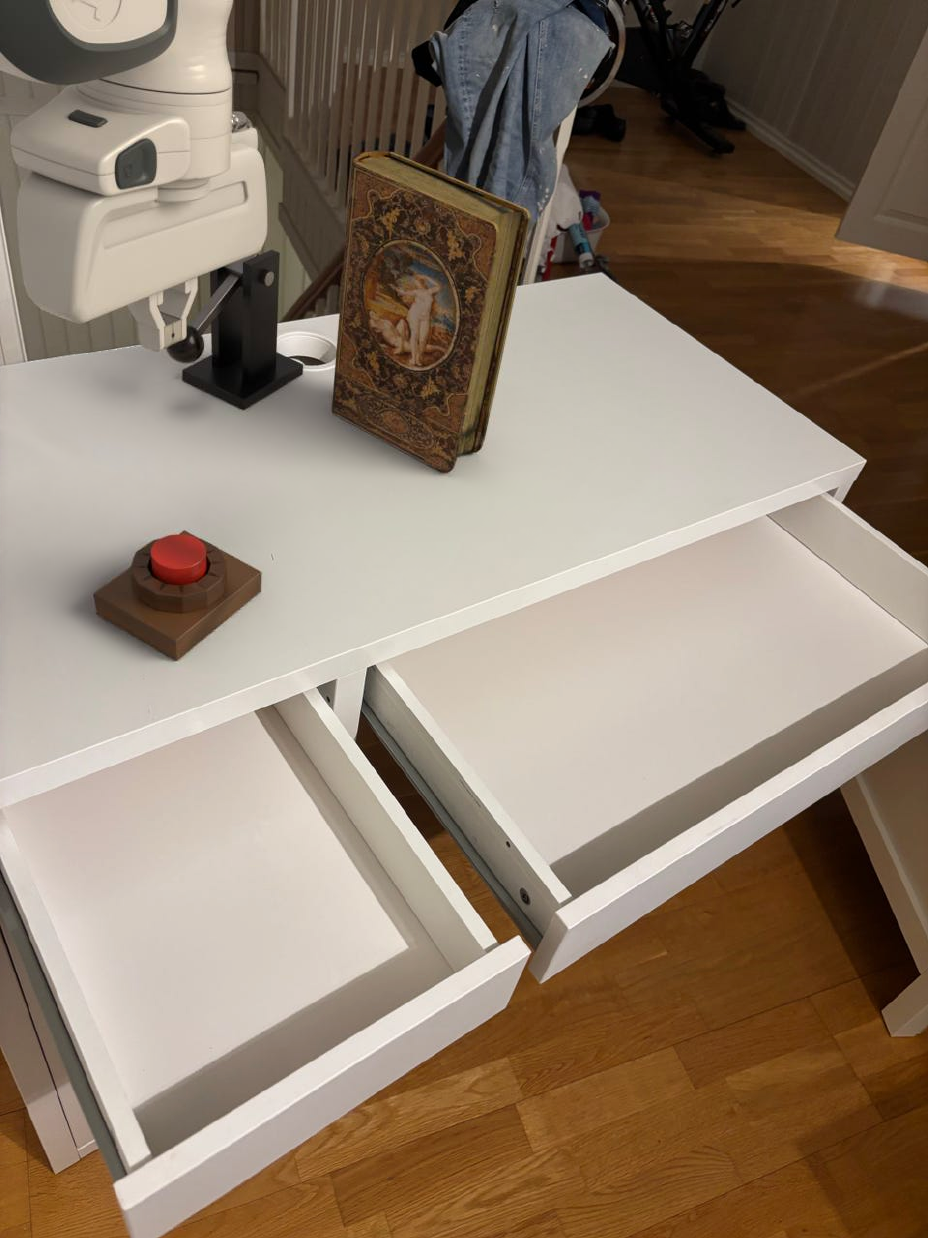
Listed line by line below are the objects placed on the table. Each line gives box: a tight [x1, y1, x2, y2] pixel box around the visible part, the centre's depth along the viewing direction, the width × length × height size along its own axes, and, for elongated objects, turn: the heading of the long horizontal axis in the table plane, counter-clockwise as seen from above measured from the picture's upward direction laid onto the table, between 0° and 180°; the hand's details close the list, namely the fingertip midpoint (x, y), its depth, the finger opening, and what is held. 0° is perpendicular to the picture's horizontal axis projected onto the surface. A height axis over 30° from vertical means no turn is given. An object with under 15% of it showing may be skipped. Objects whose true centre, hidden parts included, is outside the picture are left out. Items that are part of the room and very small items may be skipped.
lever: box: [165, 252, 260, 364], centre depth 90 cm, size 13×4×4 cm, turn 150°
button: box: [151, 533, 206, 585], centre depth 72 cm, size 4×4×2 cm
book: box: [331, 150, 531, 474], centre depth 89 cm, size 16×6×25 cm, turn 56°
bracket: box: [181, 249, 304, 411], centre depth 95 cm, size 10×8×14 cm
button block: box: [92, 529, 263, 661], centre depth 74 cm, size 10×8×4 cm
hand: (163, 343), depth 66 cm, fingers closed
